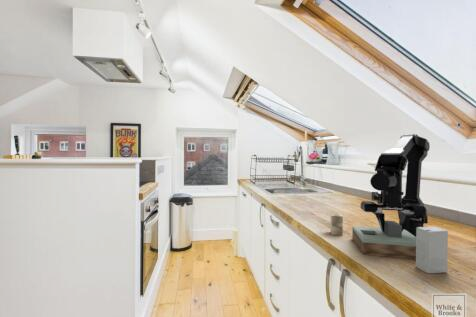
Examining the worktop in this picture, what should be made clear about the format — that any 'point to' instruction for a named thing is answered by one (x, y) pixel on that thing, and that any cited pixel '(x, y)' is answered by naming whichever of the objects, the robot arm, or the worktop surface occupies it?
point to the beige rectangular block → (337, 224)
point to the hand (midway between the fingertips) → (391, 231)
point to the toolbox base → (384, 248)
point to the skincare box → (431, 249)
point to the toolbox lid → (386, 234)
